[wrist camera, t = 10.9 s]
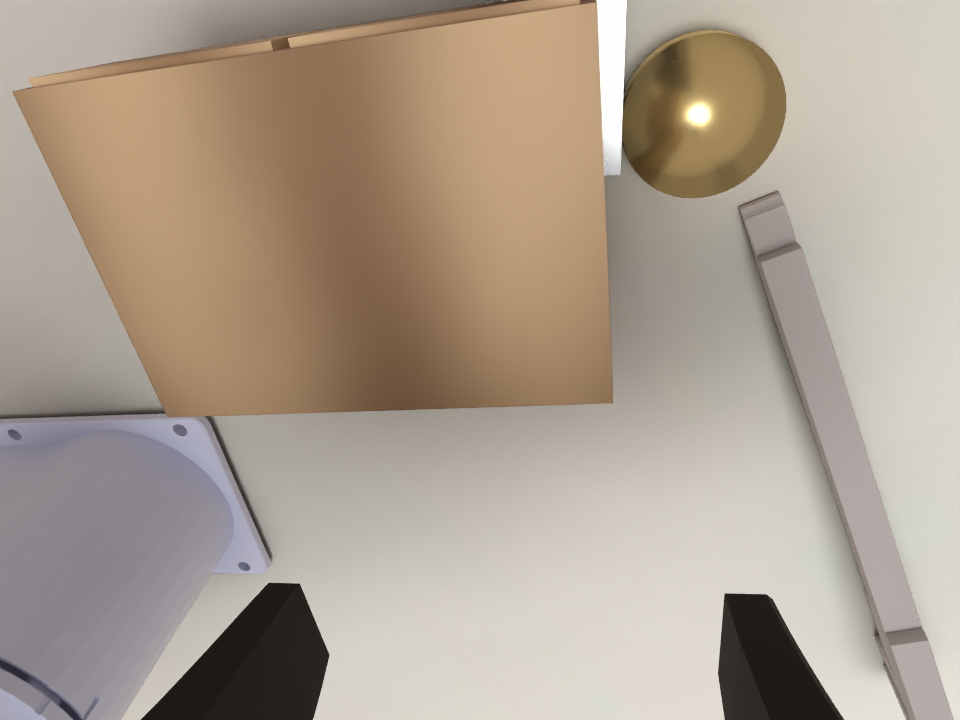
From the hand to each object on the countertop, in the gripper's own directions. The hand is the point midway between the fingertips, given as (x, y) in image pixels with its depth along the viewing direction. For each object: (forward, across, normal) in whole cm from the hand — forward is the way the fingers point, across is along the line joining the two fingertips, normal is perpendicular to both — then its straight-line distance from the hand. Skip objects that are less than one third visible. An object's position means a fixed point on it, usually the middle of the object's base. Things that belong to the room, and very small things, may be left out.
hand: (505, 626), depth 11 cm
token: (+10, -4, -6) cm, 13 cm away
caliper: (+10, -9, +6) cm, 15 cm away
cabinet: (+10, +3, -6) cm, 12 cm away
